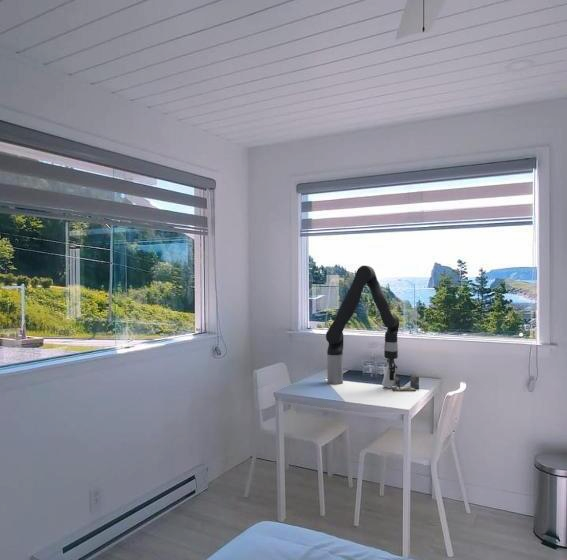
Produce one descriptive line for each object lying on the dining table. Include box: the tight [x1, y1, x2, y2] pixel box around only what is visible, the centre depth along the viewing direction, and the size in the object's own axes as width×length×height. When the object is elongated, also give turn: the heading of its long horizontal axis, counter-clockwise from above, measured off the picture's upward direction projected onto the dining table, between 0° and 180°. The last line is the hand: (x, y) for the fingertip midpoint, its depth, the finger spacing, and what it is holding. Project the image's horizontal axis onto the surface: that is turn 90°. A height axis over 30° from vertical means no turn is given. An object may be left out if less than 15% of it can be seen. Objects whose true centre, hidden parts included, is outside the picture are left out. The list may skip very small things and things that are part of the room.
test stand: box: [391, 373, 420, 392], centre depth 276 cm, size 15×13×7 cm
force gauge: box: [381, 364, 398, 389], centre depth 279 cm, size 7×5×13 cm
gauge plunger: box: [394, 376, 402, 389], centre depth 277 cm, size 1×12×4 cm, turn 178°
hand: (390, 378), depth 279 cm, fingers closed on force gauge, 5 cm apart
